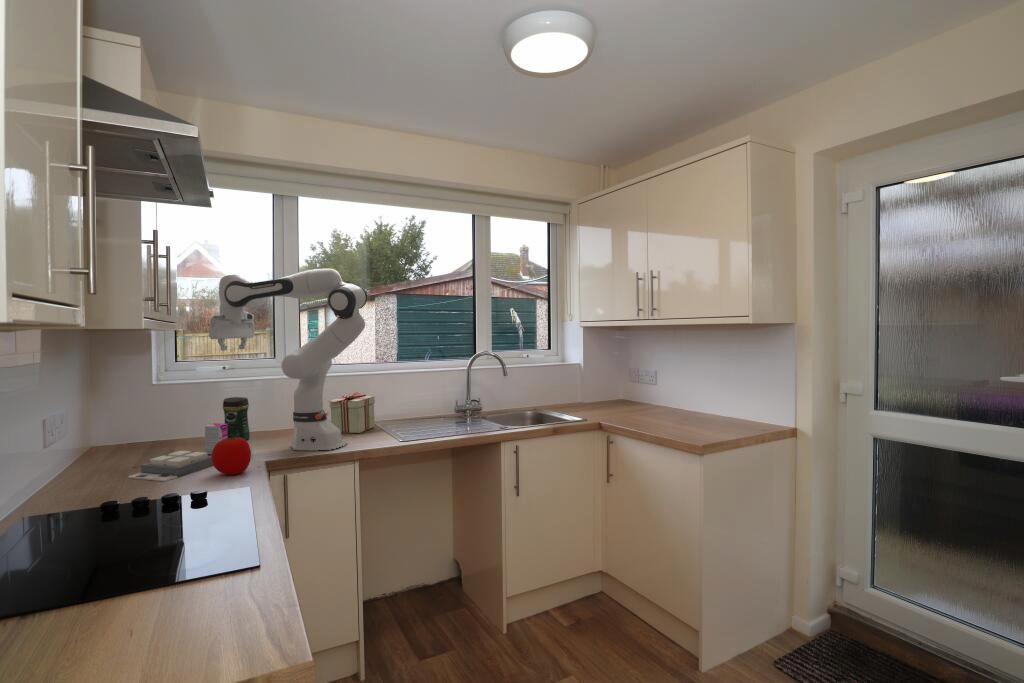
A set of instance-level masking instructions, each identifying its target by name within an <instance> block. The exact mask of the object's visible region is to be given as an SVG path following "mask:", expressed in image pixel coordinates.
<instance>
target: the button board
mask: <svg viewBox="0 0 1024 683" xmlns="http://www.w3.org/2000/svg"><path fill="white" fill-rule="evenodd" d="M210 467H214V465H213V463H212V456H208V458H205V459H201V460H198V461H191V463H189V464H186V465H182V466H179V467H175V466H166V464H164V465H152V464H150V462H147V463H146V462H145V463H143V464H141V465H140V472H137V473H135V474H132V475H128V476H127V478H128V479H135V480H148V481H154V482H155V481H157V482H168V481H171V480H175V479H176V478H180V477H183V476H186V475H190V474H193V473H195V472H198V471H201V470H204V469H208V468H210Z"/></svg>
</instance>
